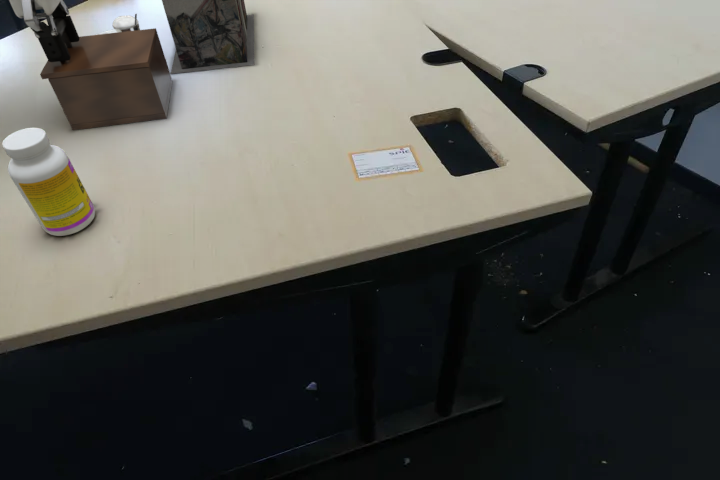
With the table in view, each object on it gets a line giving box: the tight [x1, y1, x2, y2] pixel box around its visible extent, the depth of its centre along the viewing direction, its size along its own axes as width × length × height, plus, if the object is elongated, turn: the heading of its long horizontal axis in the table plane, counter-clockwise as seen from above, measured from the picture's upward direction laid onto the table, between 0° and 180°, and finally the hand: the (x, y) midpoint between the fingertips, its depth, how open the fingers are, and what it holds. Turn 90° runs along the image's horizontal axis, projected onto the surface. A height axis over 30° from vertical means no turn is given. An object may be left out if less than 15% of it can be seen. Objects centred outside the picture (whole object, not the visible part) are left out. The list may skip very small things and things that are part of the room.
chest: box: [47, 33, 174, 131], centre depth 89 cm, size 15×13×9 cm
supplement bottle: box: [1, 127, 96, 237], centre depth 66 cm, size 7×7×13 cm
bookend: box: [161, 0, 256, 75], centre depth 103 cm, size 16×25×16 cm, turn 9°
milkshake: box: [112, 13, 141, 33], centre depth 99 cm, size 4×5×10 cm
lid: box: [39, 18, 158, 80], centre depth 84 cm, size 16×13×5 cm
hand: (64, 49), depth 84 cm, fingers closed on lid, 6 cm apart
